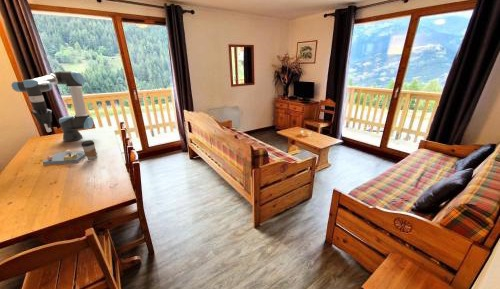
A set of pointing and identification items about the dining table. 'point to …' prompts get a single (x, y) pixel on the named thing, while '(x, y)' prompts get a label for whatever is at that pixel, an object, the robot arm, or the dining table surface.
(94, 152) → the coffee cup
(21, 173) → the dining table surface
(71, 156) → the brass cover
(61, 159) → the board
